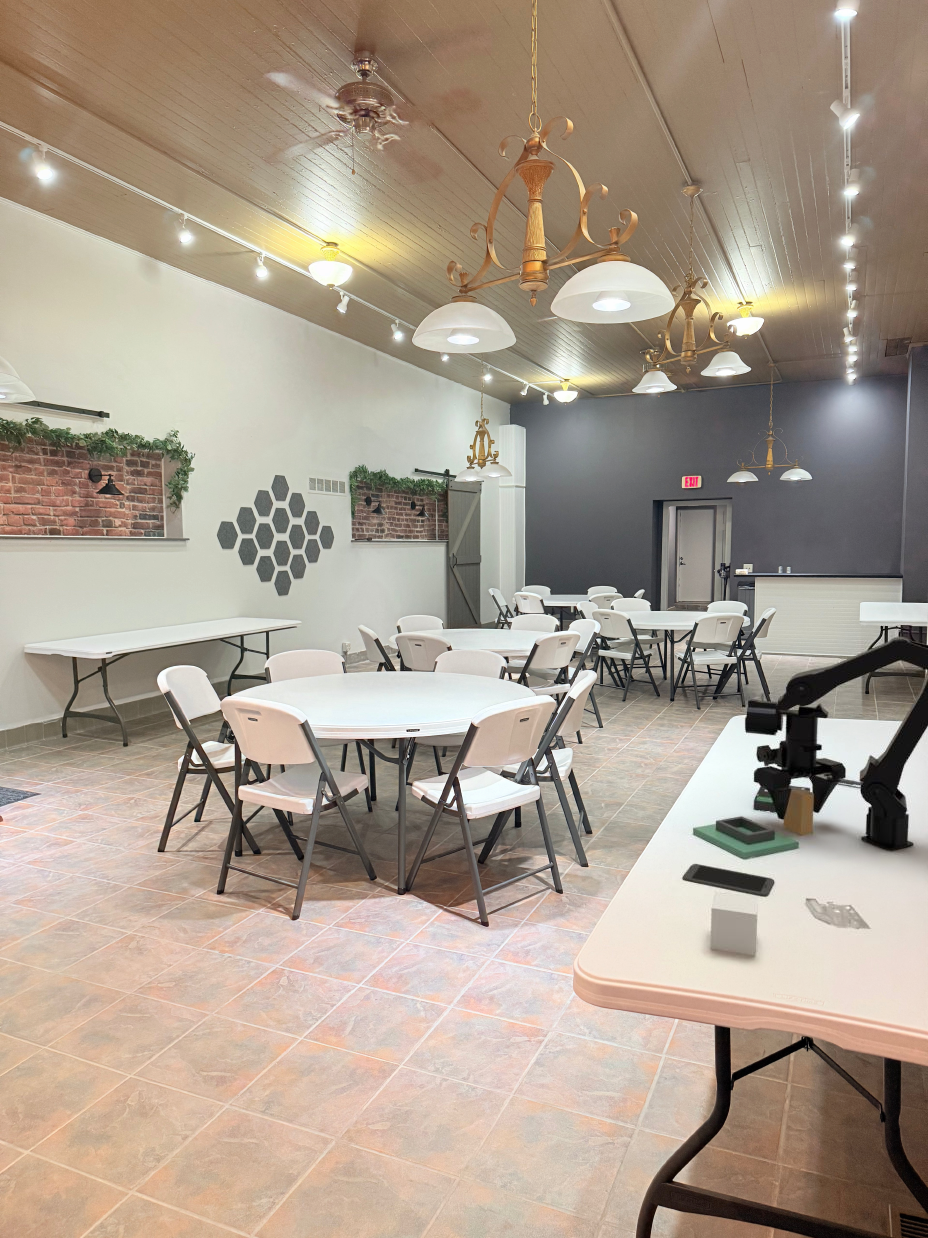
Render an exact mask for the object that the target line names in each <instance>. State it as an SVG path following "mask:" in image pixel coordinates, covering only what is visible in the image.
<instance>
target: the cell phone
mask: <svg viewBox="0 0 928 1238" xmlns="http://www.w3.org/2000/svg"><path fill="white" fill-rule="evenodd" d="M682 880H683V881H686V882H689V883H694V884H698V885H705V886H709V887H713V888H720V889H723V890H728V891H734V892H737V893H743V894H748V895H751V896H756V897H763V898H764V897H765V898H768V897H769V895H770V894H771V891H772V889H773V887H774V885H775V879H773V878H771V877H766V876H761V875H756V874H751V873H747V872H746V873H745V872H741V871H735V870H730V869H724V868H720V867H714V866H709V865H704V864H698V863H693V864H691V865H690V866H689V868H688V869H687V871H686V872H684V874H683V875H682Z"/></svg>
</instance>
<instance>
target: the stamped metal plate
mask: <svg viewBox="0 0 928 1238" xmlns="http://www.w3.org/2000/svg"><path fill="white" fill-rule="evenodd" d="M805 905H806V907H807V908H808V909H809V911H810V912H811V914H812V915H813V916H814V917H815V918H816V919H818V920H819V921H822V922H825V923H827V924H830V926H831V925H832V926H834V927H836V928H839V929H861V930H862V929H864V930H865V929H866V930H867V929H868V930H871V927H870V926H869V924H868V923H867V922H866V921H865V920H864V918H863V917H862V916H861V915H860V914H859V913H858V911H856V909H855V908H854V907H853V906H852V905H851V904H838V903H837V904H836V903H835V904H834V902H833V901H826V903H820V902H819V900H817V898H809V897H808V898H807V897H806V898H805Z"/></svg>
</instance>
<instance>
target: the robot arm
mask: <svg viewBox="0 0 928 1238" xmlns="http://www.w3.org/2000/svg"><path fill="white" fill-rule="evenodd" d="M900 661H901V662H904V663H908V664H909V665H910V664H911V665H913V666H916V667H918V668H920V669H924V670H926V674H925V676H924V680H923V682H922V683H923V684H922V687H921V689H920V691H919V693H918V695H917V696H916V698H915V700H914V701H913V703H912V704H911V706H910V708H909V710H908V711H907V713H906V715H905V717H904V718H903V720H902V722H901V724H900V725H899V727H898V728H897V730H896V731H895V734H894V735H893V737H892V739H891V740H890V741H889V744H888V746H887V747H886V749H885V751H884V752H883V753H882V754H880V756H878V758H876V757H874V756H872V755H871V754H870V755H869V756H868V759H867V762H866V764H865V766H864V768H862V769H860V771H859V781H858V782H861V786H860V794H861V797H862V798H863V800H864V801H865V802H866V803H867V804H869V805H870V806H868V810H867V811H868V812H867V814H866V817H865V818H866V821H865V835H863V836H861V837H860V839H861V840H862V841H863V842H866V843H870V844H872V845H874V846H877V847H880V848H883V849H885V850H887V851H894V850H899V849H904V848H908V847H913V846H914V842H913V841H910V840H909V821H910V819H909V818H910V814H909V813H907V812H908V807H907V799H906V795H905V794H904V793H903V792H902V791H900V789H899V788H898V787H899V785H900V781H901V779H902V774H903V771H904V768H905V765H906V763H907V762H908V760H909V758H910V757H911V755H912V753H914V750H915V748H916V746H917V745H918V743H920V740H921V739H922V737H923V736H924V733H925V732H926V730H927V728H928V644H926V643H922V642H917V641H913V640H911V639H908V638H906V637H904V636H896V637H893V638H891V639H890V640H888V641H887V642H884V643H882V644H879V645H878V646H875V647H873V648H870V649H868V650H865V651H863V652H861V653H858V654H856V655H854V656H852V657H849V658H846V659H845V660H842V661H840V662H837V663H835V664H832V665H829V666H824V667H818V668H813V669H810V670H805V671H801V672H798V673H795V674H794V675H792V676H791V678H790V679H789V680H788V682H787V684H786V687H785V693H784V694H783V695H782V696H779V697H778V700H777V701H771V700H770V701H769V700H760V699H754V698H749V699H748V701H747V708H746V716H745V718H744V730H745V731H744V732H745V733H746V734H754V735H755V734H756V735H758V734H759V735H765V736H767V735H768V736H775V737H776V735H777V733H778V731H779V732H782V731H783V728H784V727H783V726H784V716H785V737H784V739H785V740H780V742H779V746H778V747H777V748H771V747H770V745H768V744H766V745H764V744H763V745H758V746H757V747H756V753H755V755H756V759H757V762H759V763H762V762H763V765H764V766H763V767H757V768H756V769H755V770H754V771H753V782H754V783H756V784H759V786H762V787H765V788H766V789H767V791H768V792H769V794H770V796H771V798H772V801H773V804H774V807H775V810H776V813H775V814H776V815H777V818H778V819H779V820H782V821H784V817H785V814H786V811H787V806H788V802H789V798H790V794H791V790H792V789H791V788H788V787H789V785H791V784H792V780H794V779H801V778H806V777H809V779H808V780H809V781H810V783H811V785H812V787H811V790H812V793H814V804H813V813H816V814H819V813H820V812H821V810H822V808H823V806H825V803H826V801H827V800H828V798H829V797H830V796H831V794H832V792H833V790H835V788H836V787H837V785H838V784H841V783H840V782H841V780H840V779H845V778H846V773H847V770H846V769H847V768H846V767H845V765H844V764H843V763H842V762H840V761H836V760H833V759H830V758H827V757H826V758H825V757H822V758H820V759H816V758H818V757H817V755H818V752H817V751H822V748H823V745H822V744H820V743H818V723H819V719H827V718H828V717H829V714H830V713H829V711H828V710H826V709H825V708H824V707H823V705H822V704H821V703H818V704H817V705H816V706H809V705H812V704H813V703H815V702H817V700H819V699H820V700H821V698H823V697H824V696H826V695H827V694H829V693H830V692H831V691H833V690H834V689H836V688H837V687H839V686H841V685H843V684H845V683H848V682H850V681H853V680H855V679H857V678H860V677H863V676H865V675H867V674H870V673H872V672H875V671H877V670H880V669H882V668H885V667H887V666H889V665H890V666H891V665H892V664H894V663H897V662H900ZM797 706H798V709H793V708H795V707H797ZM771 765H776V767H775V766H771ZM777 767H778V768H777ZM782 767H784V768H785V770H781V769H782ZM794 773H796V774H794Z"/></svg>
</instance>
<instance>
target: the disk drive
mask: <svg viewBox="0 0 928 1238" xmlns="http://www.w3.org/2000/svg"><path fill="white" fill-rule="evenodd" d="M759 786H760V785H759ZM793 787H797V788H800V789H803V790H806V791H809V792H811V787H805V786H796V785H791V784H790V785H789V787H788V788H793ZM753 810H754V811H758V810H760V812H766V811H770V812H769V813H773V812H776V810H775V807H774V804H773V801H772V798H771V796H770V794H769V792H768V791H767V789H766V788H765V787H762V786H760V787H759V788H758V791H757V792H756V795H755V796H754V799H753Z"/></svg>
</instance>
